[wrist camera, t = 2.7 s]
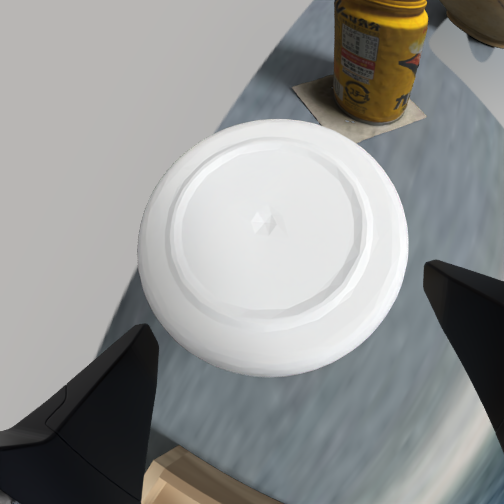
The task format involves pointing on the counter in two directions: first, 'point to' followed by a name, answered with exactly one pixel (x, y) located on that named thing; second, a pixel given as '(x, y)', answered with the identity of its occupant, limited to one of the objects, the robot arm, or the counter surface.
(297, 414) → the counter surface
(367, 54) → the condiment
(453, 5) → the decorative pitcher
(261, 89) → the counter surface
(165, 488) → the wooden tray
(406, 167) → the counter surface
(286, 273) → the sprinkles bottle
